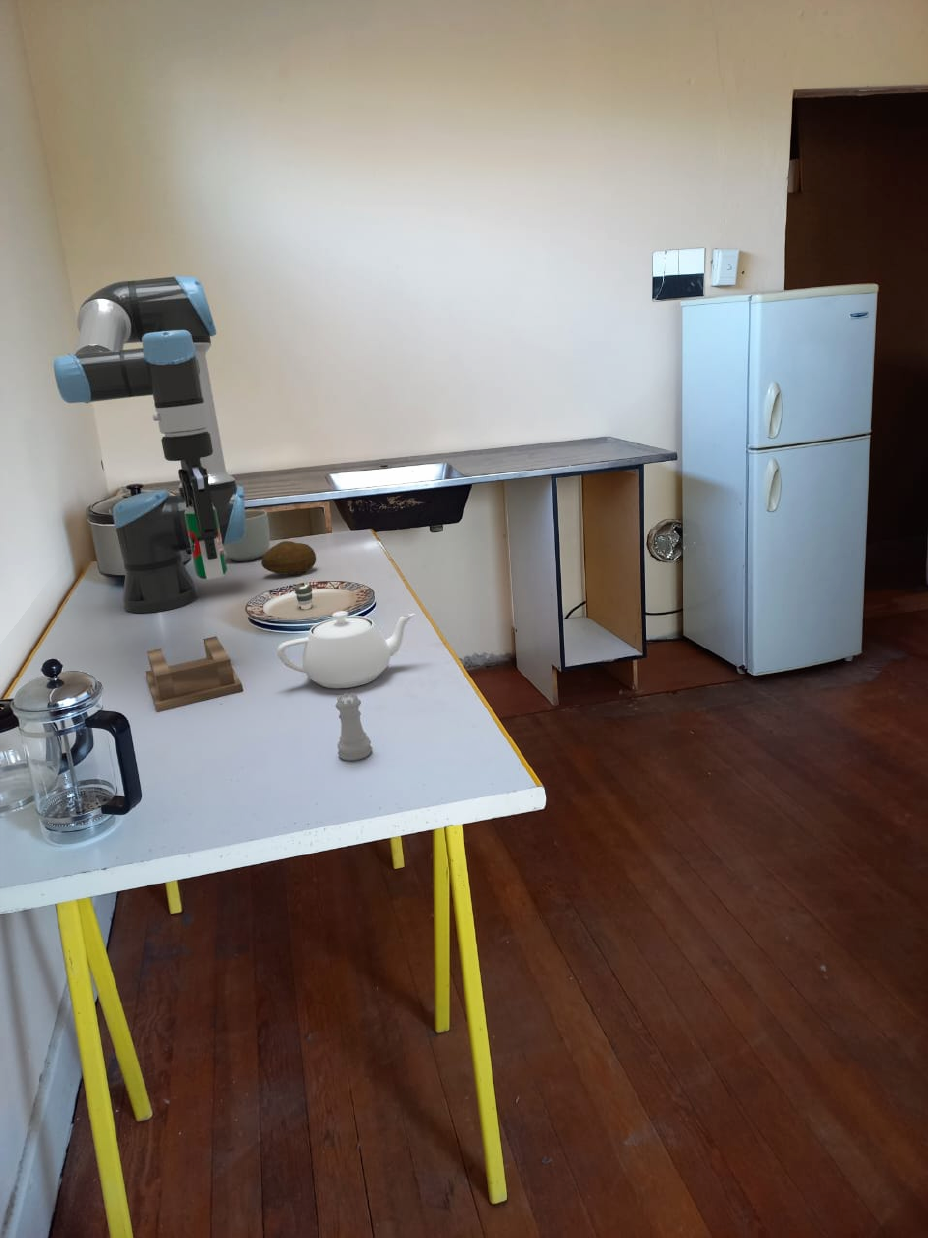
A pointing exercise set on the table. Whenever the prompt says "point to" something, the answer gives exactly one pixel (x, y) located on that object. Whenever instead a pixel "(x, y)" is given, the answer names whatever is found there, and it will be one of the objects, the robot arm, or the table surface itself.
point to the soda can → (195, 546)
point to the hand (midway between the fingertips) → (211, 573)
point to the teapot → (345, 650)
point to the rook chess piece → (352, 730)
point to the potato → (289, 558)
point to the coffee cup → (304, 594)
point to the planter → (251, 538)
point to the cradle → (191, 677)
